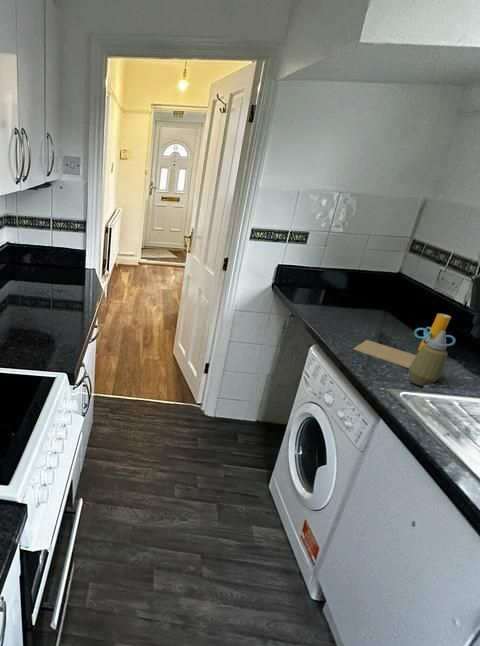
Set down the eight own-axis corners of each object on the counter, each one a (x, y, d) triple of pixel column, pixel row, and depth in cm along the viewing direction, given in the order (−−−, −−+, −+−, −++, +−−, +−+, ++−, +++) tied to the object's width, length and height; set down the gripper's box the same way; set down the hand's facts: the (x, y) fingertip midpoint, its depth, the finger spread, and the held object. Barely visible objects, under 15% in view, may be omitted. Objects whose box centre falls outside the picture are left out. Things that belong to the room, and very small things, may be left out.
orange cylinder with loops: (403, 343, 160) (419, 307, 154) (432, 347, 159) (449, 311, 153) (421, 358, 149) (438, 320, 143) (452, 362, 148) (471, 324, 142)
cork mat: (420, 358, 149) (421, 356, 149) (409, 368, 141) (410, 367, 141) (366, 341, 162) (366, 339, 162) (352, 349, 153) (353, 348, 153)
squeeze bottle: (408, 385, 130) (432, 333, 122) (401, 373, 137) (423, 323, 129) (438, 391, 127) (464, 339, 120) (430, 379, 134) (454, 329, 126)
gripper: (542, 247, 100) (498, 331, 112) (477, 244, 104) (441, 326, 116) (561, 257, 94) (513, 345, 106) (492, 254, 97) (452, 339, 109)
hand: (476, 335), depth 111 cm, fingers closed
